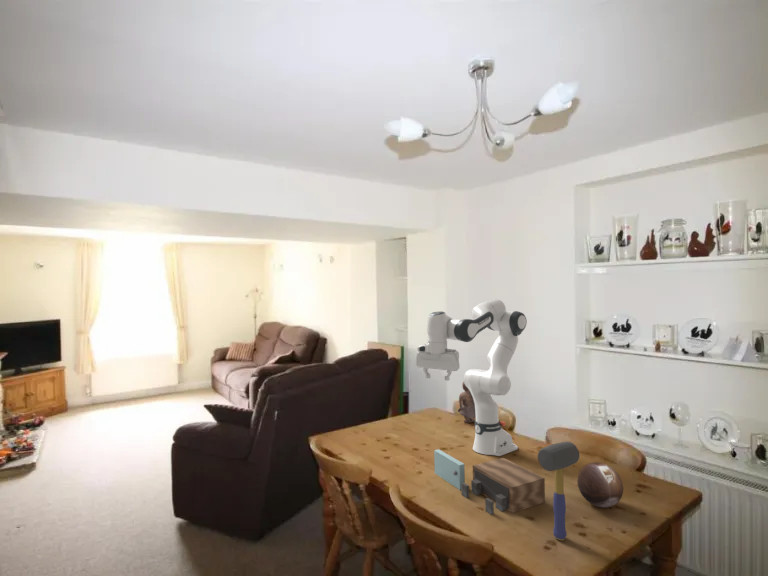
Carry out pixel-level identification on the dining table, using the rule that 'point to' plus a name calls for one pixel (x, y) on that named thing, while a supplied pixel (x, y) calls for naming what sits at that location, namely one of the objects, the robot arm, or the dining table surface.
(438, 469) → the door
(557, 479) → the rubber mallet
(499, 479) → the cabinet
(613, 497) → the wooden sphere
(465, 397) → the clay figurine
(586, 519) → the dining table surface
